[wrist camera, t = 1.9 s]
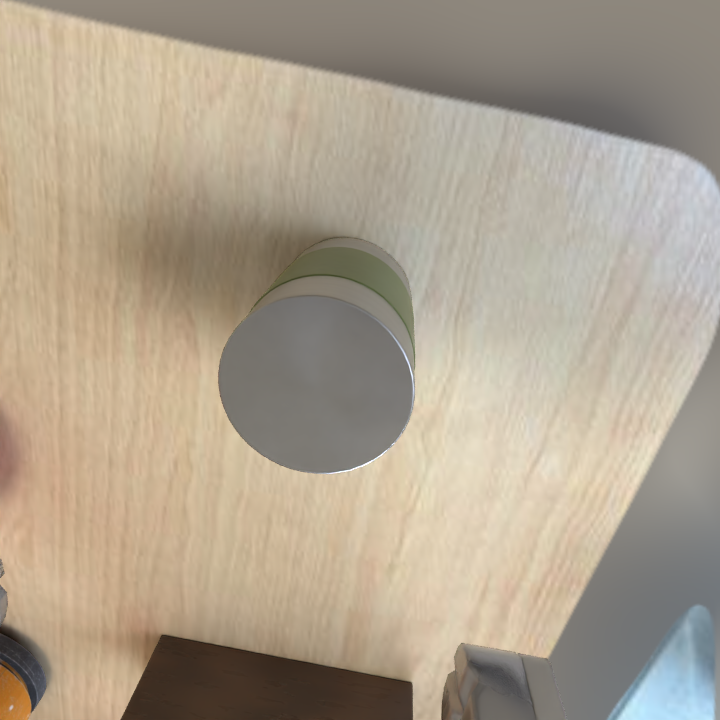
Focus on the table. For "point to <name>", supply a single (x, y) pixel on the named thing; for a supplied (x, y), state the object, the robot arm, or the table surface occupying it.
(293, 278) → the can
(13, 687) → the canister
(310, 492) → the table surface
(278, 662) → the brown wooden block
